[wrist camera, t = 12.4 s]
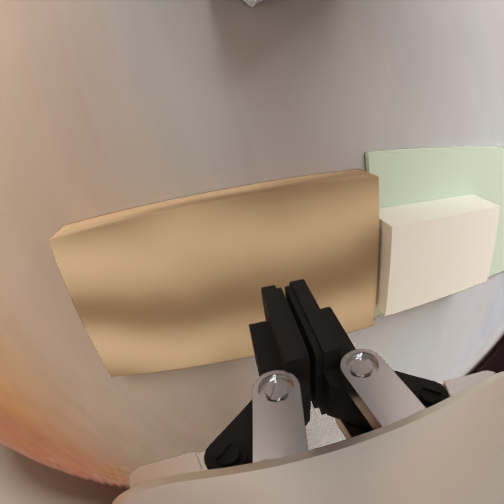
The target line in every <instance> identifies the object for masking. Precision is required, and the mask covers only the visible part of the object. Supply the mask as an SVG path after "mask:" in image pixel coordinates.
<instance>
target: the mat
mask: <svg viewBox="0 0 504 504" xmlns="http://www.w3.org/2000/svg"><path fill="white" fill-rule="evenodd" d="M365 159H366V172H368V173H371V174H373V175H376V176H379V209H381V208H387V207H394V206H400V205H406V204H413V203H419V202H426V201H432V200H439V199H446V198H453V197H460V196H467V195H476V196H478V197H480V198H483V199H485V200H487V201H490V202H492V203H494V204H496V205H499V206H500V213H499V221H498V228H497V235H496V241H495V247H494V252H493V257H492V262H491V267H490V272H489V276H488V277H490V276H492V275H494V274H497V273H499V272H502V271H504V147H439V148H416V149H399V150H384V151H372V152H365ZM381 314H383V313H382V312H381V311H380V310H379V308H378V307H377V306H376V305H375V316H378V315H381Z"/></svg>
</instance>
